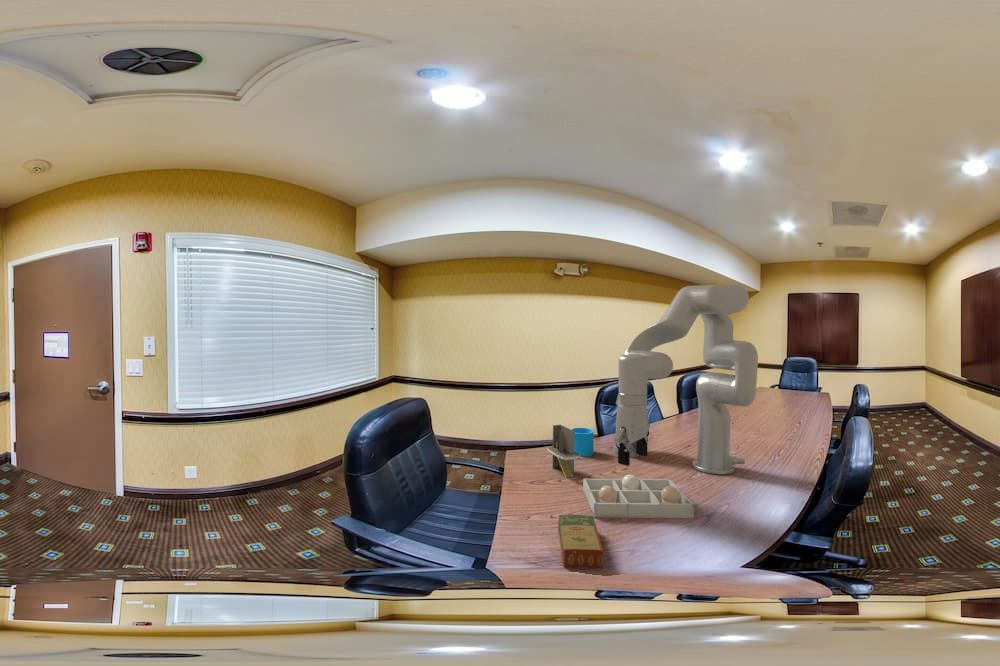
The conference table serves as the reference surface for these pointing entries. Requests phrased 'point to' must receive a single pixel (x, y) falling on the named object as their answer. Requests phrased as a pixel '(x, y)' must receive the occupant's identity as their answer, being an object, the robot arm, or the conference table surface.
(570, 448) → the toy chair
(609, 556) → the conference table surface
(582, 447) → the mug
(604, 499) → the egg in carton
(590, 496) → the egg tray
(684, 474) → the conference table surface
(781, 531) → the conference table surface
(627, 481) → the loose egg
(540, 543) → the conference table surface
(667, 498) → the egg in carton
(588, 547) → the carton
